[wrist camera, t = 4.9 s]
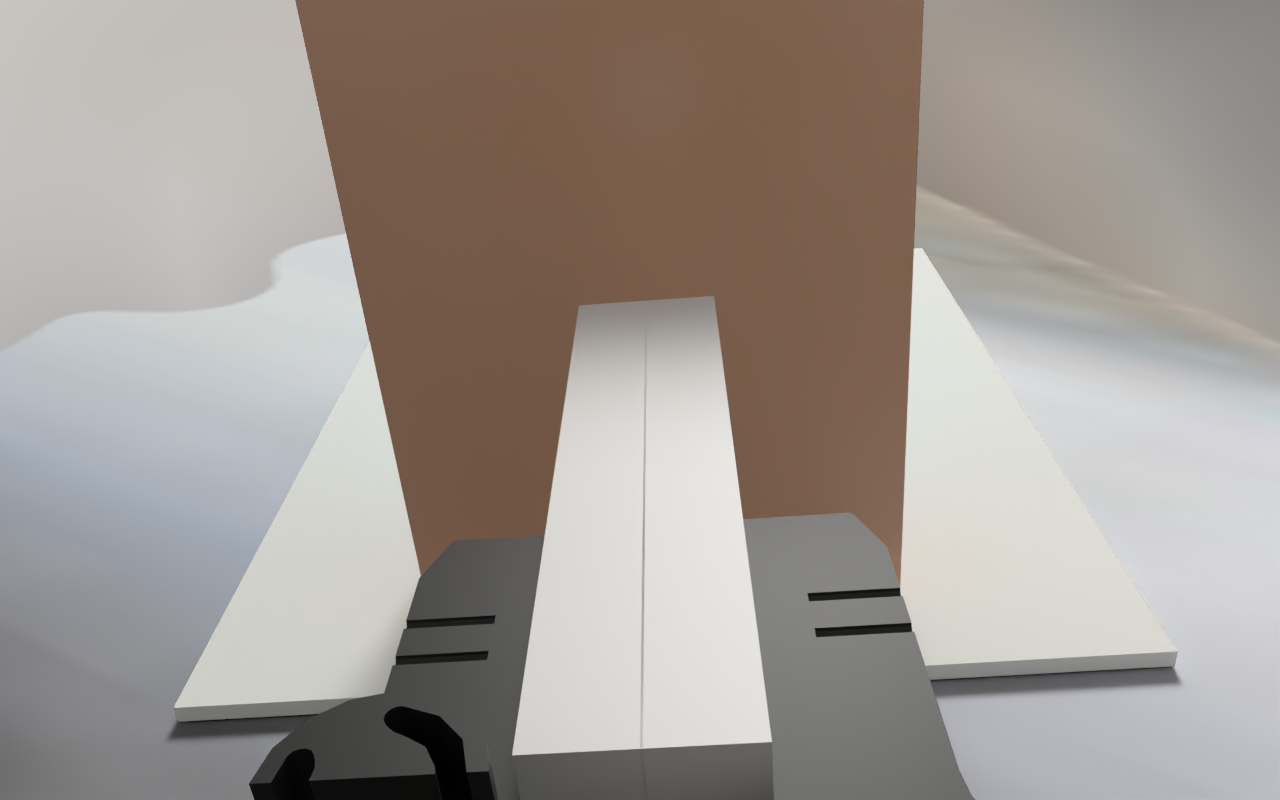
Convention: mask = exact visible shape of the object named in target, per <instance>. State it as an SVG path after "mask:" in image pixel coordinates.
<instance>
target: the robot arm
mask: <svg viewBox="0 0 1280 800" xmlns="http://www.w3.org/2000/svg"><path fill="white" fill-rule="evenodd" d="M406 622H407V628H406V629H403V633H402V636H401V639H400V643H399V646H398V649H397V652H396V656H395V657H396V664H395V665H393V666H392V669H391V672H390V675H389V679H388V682H387V685H386V688H385V692H384V693H383V694H377V695H372V696H367V697H362V698H357V699H351V700H348V701H346V702H344V703H342V704H340V705H337V706H335V707H333V708H331V709H329V710H327V711H325V712H322V713H320V714H318V715H316V716H314V717H312V718H309V719H307V720H306V721H305V722H304V723H303V724H301V725H300V726H299V727H298V728H296V729H295V730H294V731H293V732H292V733H290V734H289V735H288V736H287V737H286V738H284V739H283V740H282V741H281V742H279V743H278V744H277V745H276V746H275V747H273V748H272V750H271V751H270V753H269V754H268V756H267V757H266V759H265V760H264V762H263V763H262V765H261V766H260V768H259V769H258V771H257V773H256V774H255V776H254V777H253V779H252V780H251V782H250V783H249V785H250V788H251V791H252V794H253V797H254V799H255V800H975V799H974V798H973V796H972V795H971V794H970V792H969V790H968V787H967V785H966V783H965V781H964V779H963V777H962V775H961V773H960V771H959V768H958V765H957V762H956V759H955V756H954V753H953V750H952V747H951V744H950V741H949V737H948V734H947V731H946V728H945V725H944V722H943V719H942V716H941V713H940V710H939V706H938V703H937V700H936V697H935V694H934V691H933V688H932V685H931V682H930V679H929V675H928V672H927V669H926V666H925V663H924V660H923V657H922V654H921V651H920V648H919V644H918V641H917V638H916V635H915V632H912V623H911V620H910V617H909V613H908V610H907V607H906V604H905V601H904V598H903V596H901V593H900V585H899V582H898V579H897V576H896V573H895V570H894V567H893V564H892V561H891V558H890V554H889V551H888V548H887V546H886V545H885V544H884V543H883V542H882V541H881V540H880V539H879V538H878V537H877V536H876V535H875V534H874V533H873V532H871V531H870V530H869V529H868V528H867V527H866V526H865V525H864V524H863V523H862V522H861V521H860V520H859V519H858V518H857V517H856V516H855V515H854V514H853V513H852V512H851V513H835V514H819V515H802V516H786V517H770V518H753V519H743V515H742V507H741V500H740V492H739V484H738V477H737V469H736V461H735V453H734V446H733V438H732V430H731V423H730V415H729V407H728V400H727V392H726V384H725V377H724V369H723V361H722V354H721V346H720V338H719V330H718V323H717V315H716V307H715V300H714V296H704V297H690V298H676V299H662V300H648V301H634V302H619V303H605V304H591V305H579V309H578V315H577V322H576V329H575V335H574V342H573V349H572V356H571V362H570V369H569V376H568V382H567V389H566V396H565V403H564V409H563V416H562V423H561V429H560V436H559V443H558V450H557V456H556V463H555V470H554V477H553V483H552V490H551V497H550V503H549V510H548V517H547V524H546V530H545V535H539V536H523V537H506V538H490V539H474V540H457V541H453V542H452V543H451V544H450V545H449V546H448V547H447V548H446V549H445V550H444V551H443V552H442V554H441V555H440V556H439V557H438V558H437V559H436V560H435V561H434V562H433V563H432V565H431V566H430V567H429V568H428V569H427V570H426V571H425V572H424V573H423V574H422V576H421V577H420V578H419V580H418V584H417V587H416V590H415V593H414V597H413V600H412V603H411V607H410V610H409V613H408V616H407V620H406Z"/></svg>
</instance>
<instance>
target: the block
mask: <svg viewBox="0 0 1280 800" xmlns="http://www.w3.org/2000/svg"><path fill="white" fill-rule="evenodd" d="M296 5H297V9H298V14H299V19H300V23H301V28H302V32H303V37H304V42H305V46H306V51H307V55H308V60H309V64H310V69H311V74H312V78H313V83H314V88H315V92H316V96H317V101H318V106H319V110H320V115H321V120H322V124H323V129H324V133H325V138H326V143H327V147H328V152H329V156H330V161H331V166H332V170H333V175H334V179H335V184H336V189H337V193H338V198H339V202H340V207H341V211H342V216H343V221H344V225H345V230H346V234H347V239H348V244H349V248H350V253H351V257H352V262H353V267H354V271H355V276H356V280H357V285H358V290H359V294H360V299H361V303H362V308H363V312H364V317H365V322H366V326H367V331H368V335H369V340H370V345H371V349H372V354H373V358H374V363H375V368H376V372H377V377H378V381H379V386H380V391H381V395H382V400H383V404H384V409H385V413H386V418H387V423H388V427H389V432H390V436H391V441H392V446H393V450H394V455H395V459H396V464H397V469H398V473H399V478H400V482H401V487H402V492H403V496H404V501H405V505H406V510H407V514H408V519H409V524H410V528H411V533H412V537H413V542H414V547H415V551H416V556H417V560H418V565H419V570H420V574H421V576H422V574H423V573H424V572H425V571H426V570H427V569H428V568H429V567H430V566H431V565H432V563H433V562H434V561H435V560H436V559H437V558H438V557H439V556H440V555H441V554H442V552H443V551H444V550H445V549H446V548H447V547H448V546H449V545H450V544H451V543H452V542H453V541H457V540H474V539H490V538H506V537H523V536H539V535H545V530H546V524H547V517H548V510H549V503H550V497H551V490H552V483H553V477H554V470H555V463H556V456H557V450H558V443H559V436H560V429H561V423H562V416H563V409H564V403H565V396H566V389H567V382H568V376H569V369H570V362H571V356H572V349H573V342H574V335H575V329H576V322H577V315H578V309H579V305H591V304H605V303H619V302H634V301H648V300H662V299H676V298H690V297H704V296H714V300H715V307H716V315H717V323H718V330H719V338H720V346H721V354H722V361H723V369H724V377H725V384H726V392H727V400H728V407H729V415H730V423H731V430H732V438H733V446H734V453H735V461H736V469H737V477H738V484H739V492H740V500H741V507H742V515H743V519H753V518H770V517H786V516H802V515H819V514H835V513H851V512H852V513H853V514H854V515H855V516H856V517H857V518H858V519H859V520H860V521H861V522H862V523H863V524H864V525H865V526H866V527H867V528H868V529H869V530H870V531H871V532H873V533H874V534H875V535H876V536H877V537H878V538H879V539H880V540H881V541H882V542H883V543H884V544H885V545H886V546H887V548H888V551H889V554H890V558H891V561H892V564H893V567H894V570H895V573H896V576H897V579H898V582H899V585H900V581H901V556H902V531H903V506H904V481H905V456H906V431H907V406H908V382H909V357H910V332H911V307H912V282H913V257H914V232H915V207H916V182H917V157H918V156H917V155H918V132H919V108H920V82H921V57H922V32H923V8H924V0H296Z"/></svg>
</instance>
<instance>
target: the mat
mask: <svg viewBox="0 0 1280 800" xmlns="http://www.w3.org/2000/svg"><path fill="white" fill-rule="evenodd" d="M420 577H421V574H420V570H419V565H418V560H417V556H416V551H415V547H414V542H413V537H412V533H411V528H410V524H409V519H408V514H407V510H406V505H405V501H404V496H403V492H402V487H401V482H400V478H399V473H398V469H397V464H396V459H395V455H394V450H393V446H392V441H391V436H390V432H389V427H388V423H387V418H386V413H385V409H384V404H383V400H382V395H381V391H380V386H379V381H378V377H377V372H376V368H375V363H374V358H373V354H372V349H371V345H370V341H369V342H368V344H367V346H366V348H365V350H364V352H363V354H362V356H361V357H360V359H359V361H358V363H357V365H356V367H355V369H354V371H353V372H352V374H351V376H350V378H349V380H348V382H347V384H346V386H345V387H344V389H343V391H342V393H341V395H340V397H339V399H338V401H337V402H336V404H335V406H334V408H333V410H332V412H331V414H330V416H329V417H328V419H327V421H326V423H325V425H324V427H323V429H322V431H321V432H320V434H319V436H318V438H317V440H316V442H315V444H314V445H313V447H312V449H311V451H310V453H309V455H308V457H307V459H306V460H305V462H304V464H303V466H302V468H301V470H300V472H299V474H298V475H297V477H296V479H295V481H294V483H293V485H292V487H291V489H290V490H289V492H288V494H287V496H286V498H285V500H284V502H283V504H282V505H281V507H280V509H279V511H278V513H277V515H276V517H275V519H274V520H273V522H272V524H271V526H270V528H269V530H268V532H267V534H266V535H265V537H264V539H263V541H262V543H261V545H260V547H259V549H258V550H257V552H256V554H255V556H254V558H253V560H252V562H251V564H250V565H249V567H248V569H247V571H246V573H245V575H244V577H243V579H242V580H241V582H240V584H239V586H238V588H237V590H236V592H235V594H234V595H233V597H232V599H231V601H230V603H229V605H228V607H227V609H226V610H225V612H224V614H223V616H222V618H221V620H220V622H219V624H218V625H217V627H216V629H215V631H214V633H213V635H212V637H211V639H210V640H209V642H208V644H207V646H206V648H205V650H204V652H203V654H202V655H201V657H200V659H199V661H198V663H197V665H196V667H195V669H194V670H193V672H192V674H191V676H190V678H189V680H188V682H187V684H186V685H185V687H184V689H183V691H182V693H181V695H180V697H179V699H178V700H177V702H176V704H175V706H174V711H175V713H176V716H177V719H178V721H179V722H181V721H199V720H217V719H235V718H253V717H271V716H289V715H307V714H320V713H322V712H325V711H327V710H329V709H331V708H333V707H335V706H337V705H340V704H342V703H344V702H346V701H348V700H351V699H357V698H362V697H367V696H372V695H377V694H383V693H384V692H385V688H386V685H387V682H388V679H389V675H390V672H391V669H392V666H393V665H395V664H396V657H395V656H396V652H397V649H398V646H399V643H400V639H401V636H402V633H403V629H406V628H407V622H406V620H407V616H408V613H409V610H410V607H411V603H412V600H413V597H414V593H415V590H416V587H417V584H418V580H419V578H420ZM900 593H901V596H903V598H904V601H905V604H906V607H907V610H908V613H909V617H910V620H911V623H912V632H915V635H916V638H917V641H918V644H919V648H920V651H921V654H922V657H923V660H924V663H925V666H926V669H927V672H928V675H929V679H930V680H935V679H953V678H971V677H989V676H1007V675H1025V674H1042V673H1060V672H1078V671H1096V670H1114V669H1132V668H1150V667H1168V666H1175V662H1176V657H1177V652H1178V651H1177V650H1176V648H1175V646H1174V645H1173V643H1172V642H1171V640H1170V639H1169V637H1168V635H1167V634H1166V632H1165V631H1164V629H1163V627H1162V626H1161V624H1160V623H1159V621H1158V620H1157V618H1156V616H1155V615H1154V613H1153V612H1152V610H1151V609H1150V607H1149V605H1148V604H1147V602H1146V601H1145V599H1144V598H1143V596H1142V594H1141V593H1140V591H1139V590H1138V588H1137V586H1136V585H1135V583H1134V582H1133V580H1132V579H1131V577H1130V575H1129V574H1128V572H1127V571H1126V569H1125V568H1124V566H1123V564H1122V563H1121V561H1120V560H1119V558H1118V557H1117V555H1116V553H1115V552H1114V550H1113V549H1112V547H1111V545H1110V544H1109V542H1108V541H1107V539H1106V538H1105V536H1104V534H1103V533H1102V531H1101V530H1100V528H1099V527H1098V525H1097V523H1096V522H1095V520H1094V519H1093V517H1092V516H1091V514H1090V512H1089V511H1088V509H1087V508H1086V506H1085V504H1084V503H1083V501H1082V500H1081V498H1080V497H1079V495H1078V493H1077V492H1076V490H1075V489H1074V487H1073V486H1072V484H1071V482H1070V481H1069V479H1068V478H1067V476H1066V475H1065V473H1064V471H1063V470H1062V468H1061V467H1060V465H1059V463H1058V462H1057V460H1056V459H1055V457H1054V456H1053V454H1052V452H1051V451H1050V449H1049V448H1048V446H1047V445H1046V443H1045V441H1044V440H1043V438H1042V437H1041V435H1040V434H1039V432H1038V430H1037V429H1036V427H1035V426H1034V424H1033V422H1032V421H1031V419H1030V418H1029V416H1028V415H1027V413H1026V411H1025V410H1024V408H1023V407H1022V405H1021V404H1020V402H1019V400H1018V399H1017V397H1016V396H1015V394H1014V393H1013V391H1012V389H1011V388H1010V386H1009V385H1008V383H1007V381H1006V380H1005V378H1004V377H1003V375H1002V374H1001V372H1000V370H999V369H998V367H997V366H996V364H995V363H994V361H993V359H992V358H991V356H990V355H989V353H988V352H987V350H986V348H985V347H984V345H983V344H982V342H981V340H980V339H979V337H978V336H977V334H976V333H975V331H974V329H973V328H972V326H971V325H970V323H969V322H968V320H967V318H966V317H965V315H964V314H963V312H962V311H961V309H960V307H959V306H958V304H957V303H956V301H955V299H954V298H953V296H952V295H951V293H950V292H949V290H948V288H947V287H946V285H945V284H944V282H943V281H942V279H941V277H940V276H939V274H938V273H937V271H936V270H935V268H934V266H933V265H932V263H931V262H930V260H929V258H928V257H927V255H926V254H925V252H924V251H923V249H922V248H917V249H914V257H913V282H912V307H911V332H910V357H909V382H908V406H907V431H906V456H905V481H904V506H903V531H902V556H901V581H900Z"/></svg>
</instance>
